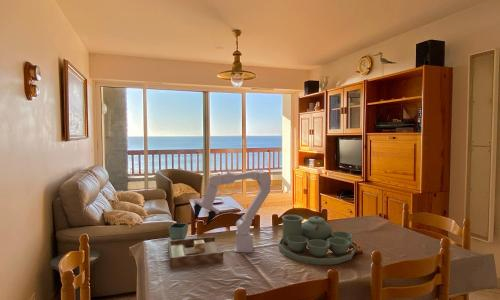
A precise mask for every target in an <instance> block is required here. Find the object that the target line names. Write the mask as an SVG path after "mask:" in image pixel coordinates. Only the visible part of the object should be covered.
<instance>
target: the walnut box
mask: <svg viewBox="0 0 500 300" xmlns="http://www.w3.org/2000/svg"><path fill="white" fill-rule="evenodd" d="M196 240H204V242H205V251H199V252H195V250H194V241H196ZM167 243H168V245H167V247H168V248H167V249H168V258H169V267H170V268H178V267H179V268H180V267H187V266H196V265H203V264H212V263H214V264H215V263H221V262H222V263H223V262H224V252H223V251H221V249H220V247H219V245H218V244H217V242H216V236H215V235H214V236H205V237H203V236H202V237H194V238H185V239H180V240H171V239H170V240H168V242H167Z"/></svg>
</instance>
